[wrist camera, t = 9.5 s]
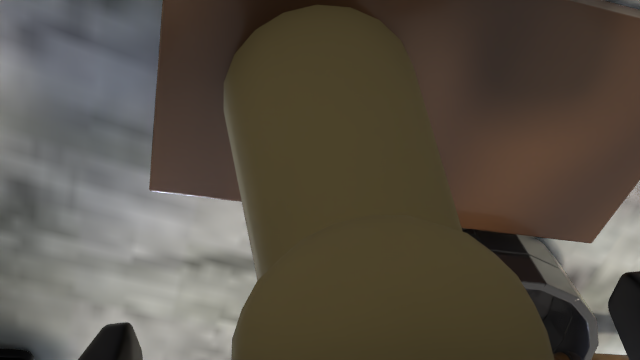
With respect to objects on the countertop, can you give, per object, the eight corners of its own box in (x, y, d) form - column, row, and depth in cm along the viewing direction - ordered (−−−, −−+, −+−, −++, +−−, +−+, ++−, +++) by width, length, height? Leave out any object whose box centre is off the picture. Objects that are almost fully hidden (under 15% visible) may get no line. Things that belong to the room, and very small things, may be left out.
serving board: (154, 165, 18) (148, 191, 17) (176, -112, 13) (169, -102, 12) (573, 220, 23) (591, 244, 21) (710, 28, 18) (744, 44, 16)
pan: (284, 381, 28) (288, 446, 25) (349, 203, 20) (365, 267, 18) (490, 388, 31) (514, 446, 28) (610, 235, 24) (658, 294, 21)
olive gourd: (179, 94, 15) (90, 503, 6) (340, -44, 13) (523, 264, 5) (306, 206, 18) (363, 579, 10) (450, 108, 16) (679, 457, 8)
